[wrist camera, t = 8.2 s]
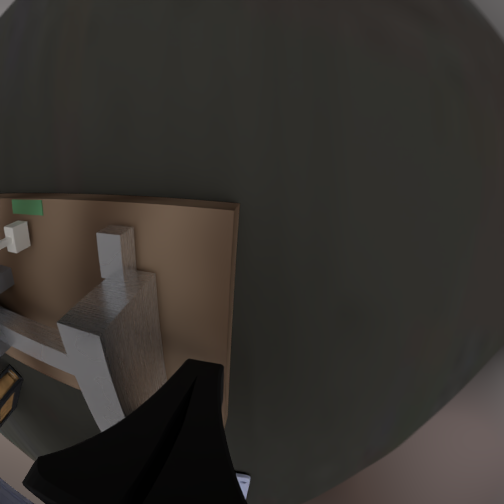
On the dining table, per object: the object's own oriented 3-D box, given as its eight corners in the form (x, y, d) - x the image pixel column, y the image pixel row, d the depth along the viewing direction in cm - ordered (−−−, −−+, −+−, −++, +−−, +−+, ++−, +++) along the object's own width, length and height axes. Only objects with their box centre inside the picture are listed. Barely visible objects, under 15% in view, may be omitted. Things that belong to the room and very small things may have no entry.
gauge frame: (239, 203, 11) (185, 276, 5) (227, 414, 15) (206, 506, 9) (-55, 195, 12) (-108, 218, 7) (-24, 323, 17) (-63, 357, 11)
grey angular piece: (153, 228, 10) (86, 277, 6) (169, 398, 13) (143, 460, 9) (-3, 214, 10) (-59, 240, 7) (32, 350, 14) (-3, 387, 10)
